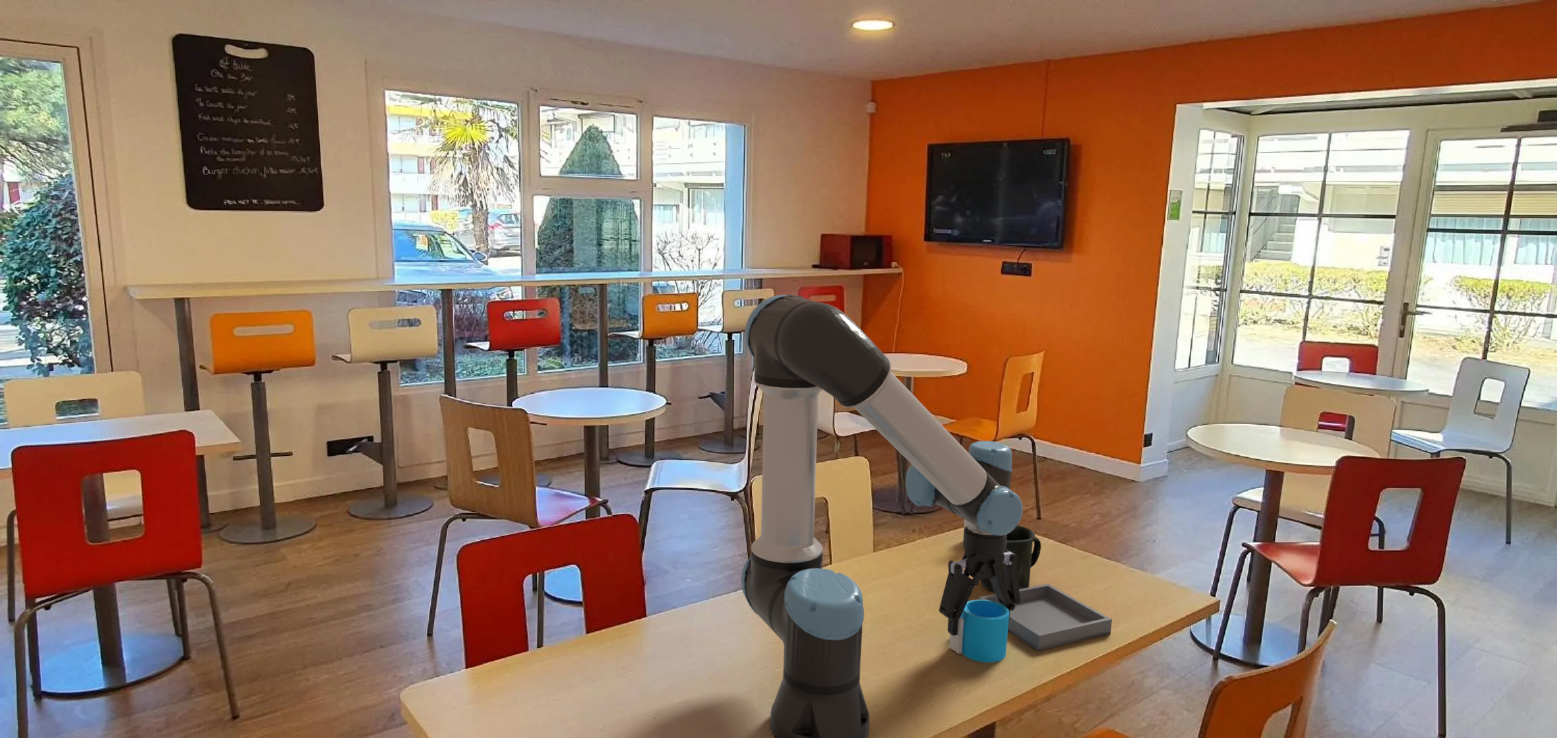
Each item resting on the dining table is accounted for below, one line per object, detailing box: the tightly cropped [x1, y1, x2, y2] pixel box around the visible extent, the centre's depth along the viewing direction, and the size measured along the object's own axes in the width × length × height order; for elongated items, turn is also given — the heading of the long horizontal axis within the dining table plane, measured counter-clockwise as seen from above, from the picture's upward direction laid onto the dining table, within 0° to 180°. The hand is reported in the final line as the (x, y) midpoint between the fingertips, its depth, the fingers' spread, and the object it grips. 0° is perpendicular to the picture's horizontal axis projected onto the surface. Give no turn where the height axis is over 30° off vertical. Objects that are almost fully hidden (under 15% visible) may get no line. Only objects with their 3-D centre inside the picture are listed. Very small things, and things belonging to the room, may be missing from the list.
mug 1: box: [961, 599, 1009, 663], centre depth 167 cm, size 12×8×8 cm
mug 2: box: [979, 524, 1042, 593], centre depth 195 cm, size 11×15×12 cm
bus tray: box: [978, 583, 1113, 652], centre depth 178 cm, size 18×18×3 cm
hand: (977, 645), depth 168 cm, fingers open, 9 cm apart
